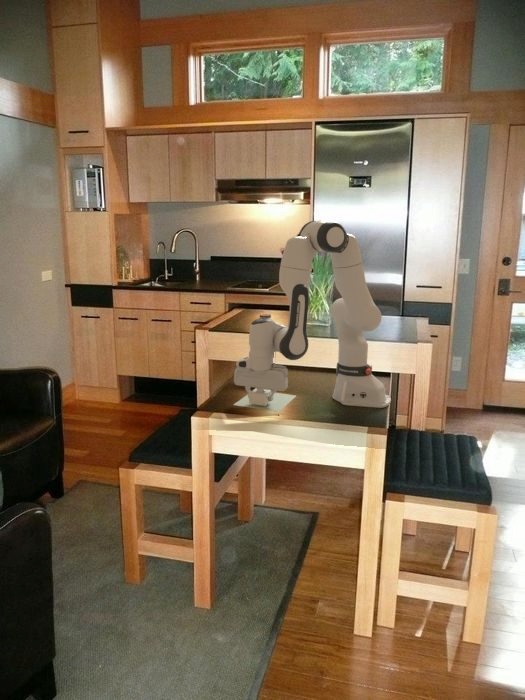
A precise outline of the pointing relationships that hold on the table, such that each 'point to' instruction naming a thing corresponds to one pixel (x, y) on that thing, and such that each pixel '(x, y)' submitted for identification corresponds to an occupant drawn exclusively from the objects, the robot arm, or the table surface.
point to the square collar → (259, 397)
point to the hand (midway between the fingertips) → (260, 399)
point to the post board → (274, 405)
